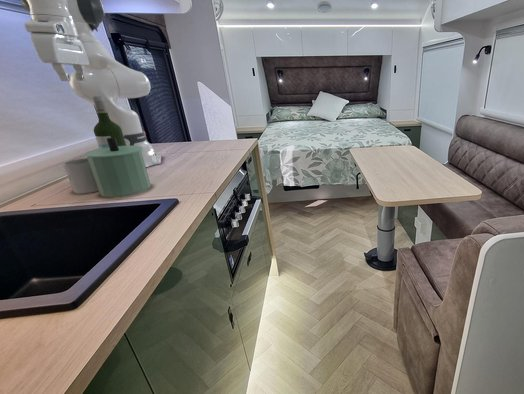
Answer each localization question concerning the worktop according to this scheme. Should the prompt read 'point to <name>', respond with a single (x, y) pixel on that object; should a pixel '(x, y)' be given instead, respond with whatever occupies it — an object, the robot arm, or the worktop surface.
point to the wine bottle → (106, 126)
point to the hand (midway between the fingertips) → (74, 81)
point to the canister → (120, 175)
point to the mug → (81, 176)
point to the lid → (113, 150)
